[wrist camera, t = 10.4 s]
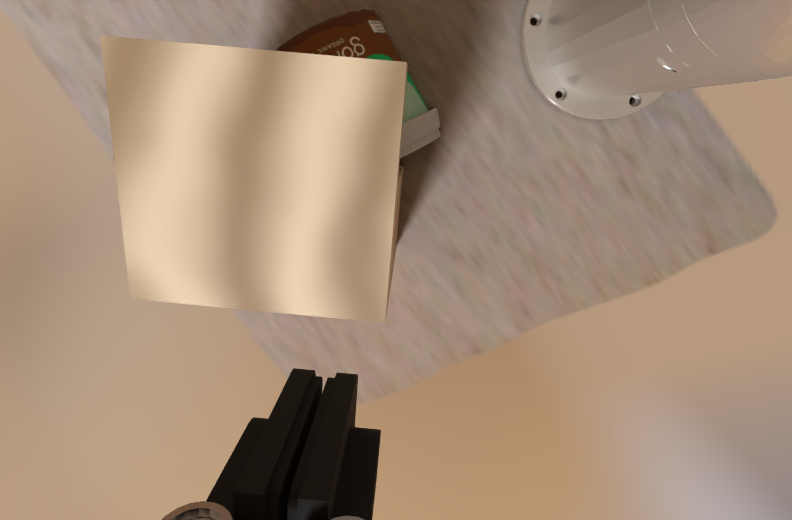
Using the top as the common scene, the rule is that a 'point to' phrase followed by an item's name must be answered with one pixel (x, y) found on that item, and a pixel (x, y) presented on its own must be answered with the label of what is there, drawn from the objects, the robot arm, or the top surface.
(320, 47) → the food container
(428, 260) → the top surface
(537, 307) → the top surface
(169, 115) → the wooden stand
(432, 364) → the top surface
